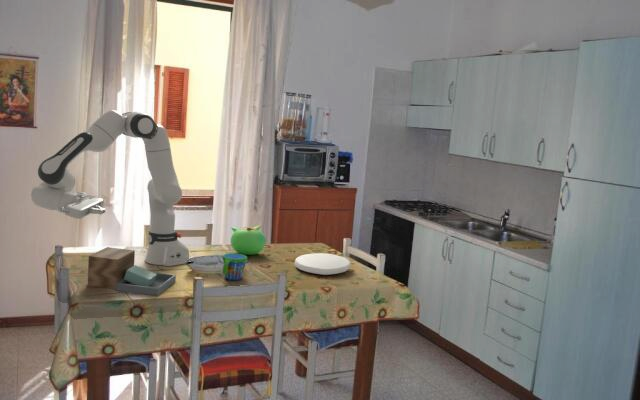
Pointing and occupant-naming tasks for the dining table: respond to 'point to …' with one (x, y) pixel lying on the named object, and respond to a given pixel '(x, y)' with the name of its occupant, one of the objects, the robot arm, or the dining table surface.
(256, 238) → the green eared pot
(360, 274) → the dining table surface
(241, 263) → the snack cup
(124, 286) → the box
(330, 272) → the plate
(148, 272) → the teal rectangular block
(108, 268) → the chevron patterned wooden cube
